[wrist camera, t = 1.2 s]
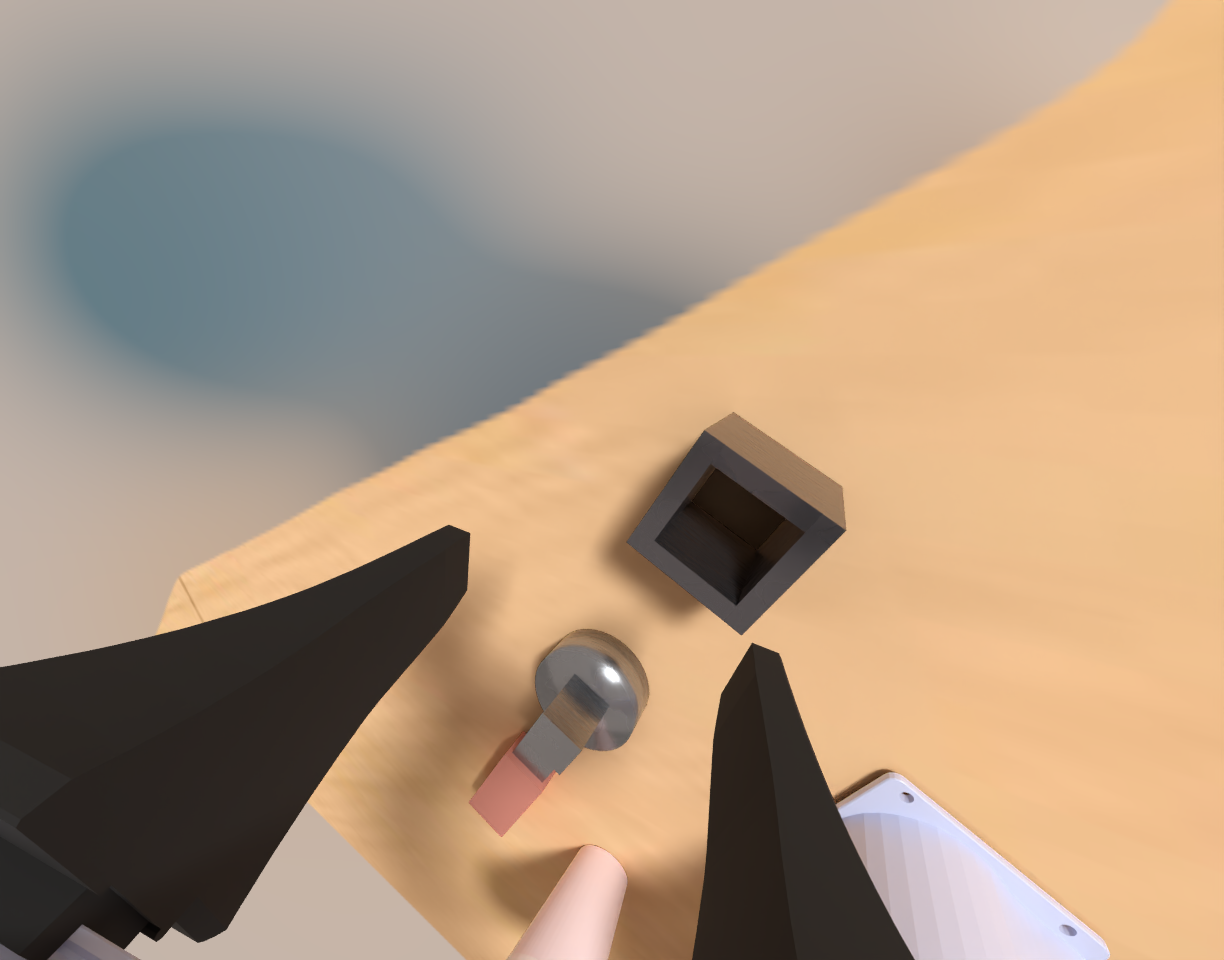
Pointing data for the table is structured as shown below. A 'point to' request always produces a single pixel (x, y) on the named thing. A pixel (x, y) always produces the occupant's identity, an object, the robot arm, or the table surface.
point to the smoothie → (578, 911)
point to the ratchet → (567, 721)
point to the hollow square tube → (719, 558)
